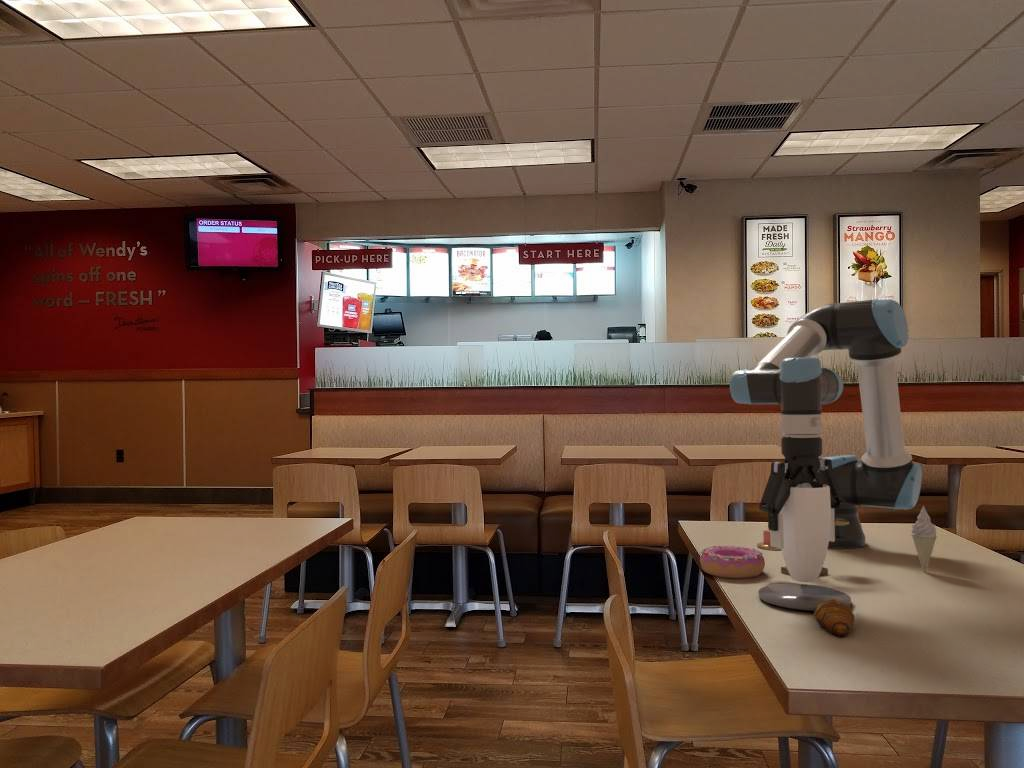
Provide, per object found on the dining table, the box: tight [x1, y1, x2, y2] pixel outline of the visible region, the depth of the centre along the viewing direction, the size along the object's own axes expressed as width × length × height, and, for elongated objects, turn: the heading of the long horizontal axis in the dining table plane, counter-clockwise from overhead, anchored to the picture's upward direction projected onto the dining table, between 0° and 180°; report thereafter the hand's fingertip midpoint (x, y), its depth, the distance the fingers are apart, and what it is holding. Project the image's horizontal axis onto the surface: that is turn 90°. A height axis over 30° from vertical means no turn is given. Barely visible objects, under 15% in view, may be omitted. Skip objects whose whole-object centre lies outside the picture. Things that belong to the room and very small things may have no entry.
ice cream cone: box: [911, 505, 938, 573], centre depth 171 cm, size 5×5×15 cm
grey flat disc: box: [757, 583, 852, 612], centre depth 150 cm, size 17×17×1 cm
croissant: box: [813, 599, 855, 638], centre depth 134 cm, size 14×7×5 cm, turn 169°
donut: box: [699, 545, 766, 579], centre depth 174 cm, size 14×14×5 cm
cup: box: [779, 483, 831, 584], centre depth 150 cm, size 10×10×22 cm
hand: (803, 543), depth 150 cm, fingers open, 13 cm apart
